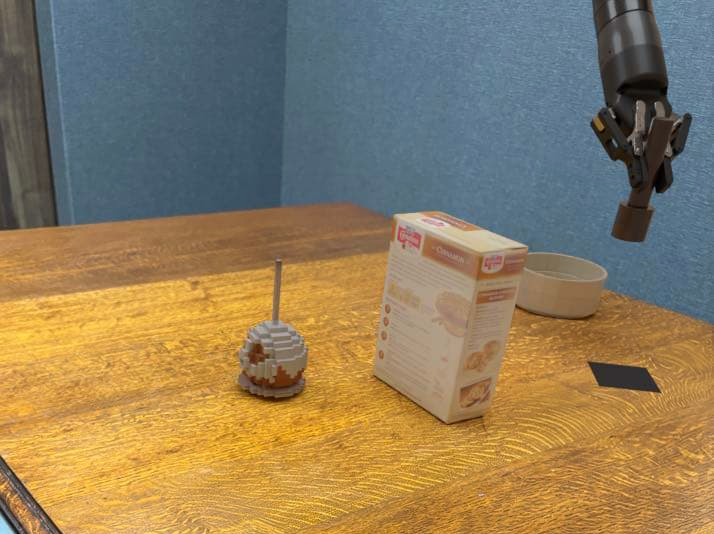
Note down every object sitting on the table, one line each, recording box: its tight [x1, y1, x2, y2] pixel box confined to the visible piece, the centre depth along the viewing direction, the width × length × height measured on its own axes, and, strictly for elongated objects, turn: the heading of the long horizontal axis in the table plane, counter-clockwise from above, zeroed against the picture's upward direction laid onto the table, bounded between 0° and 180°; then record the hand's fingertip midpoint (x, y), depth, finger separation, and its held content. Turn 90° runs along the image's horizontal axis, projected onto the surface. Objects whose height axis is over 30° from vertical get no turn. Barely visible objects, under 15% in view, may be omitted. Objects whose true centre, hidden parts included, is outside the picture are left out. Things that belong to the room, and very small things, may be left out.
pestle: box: [610, 117, 675, 243], centre depth 102 cm, size 4×4×14 cm
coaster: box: [587, 360, 662, 394], centre depth 107 cm, size 8×8×1 cm
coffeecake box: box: [372, 210, 530, 425], centre depth 93 cm, size 15×7×20 cm, turn 32°
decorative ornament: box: [237, 258, 309, 399], centre depth 93 cm, size 8×8×15 cm
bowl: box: [515, 251, 609, 320], centre depth 128 cm, size 14×14×6 cm
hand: (653, 189), depth 101 cm, fingers closed on pestle, 2 cm apart
